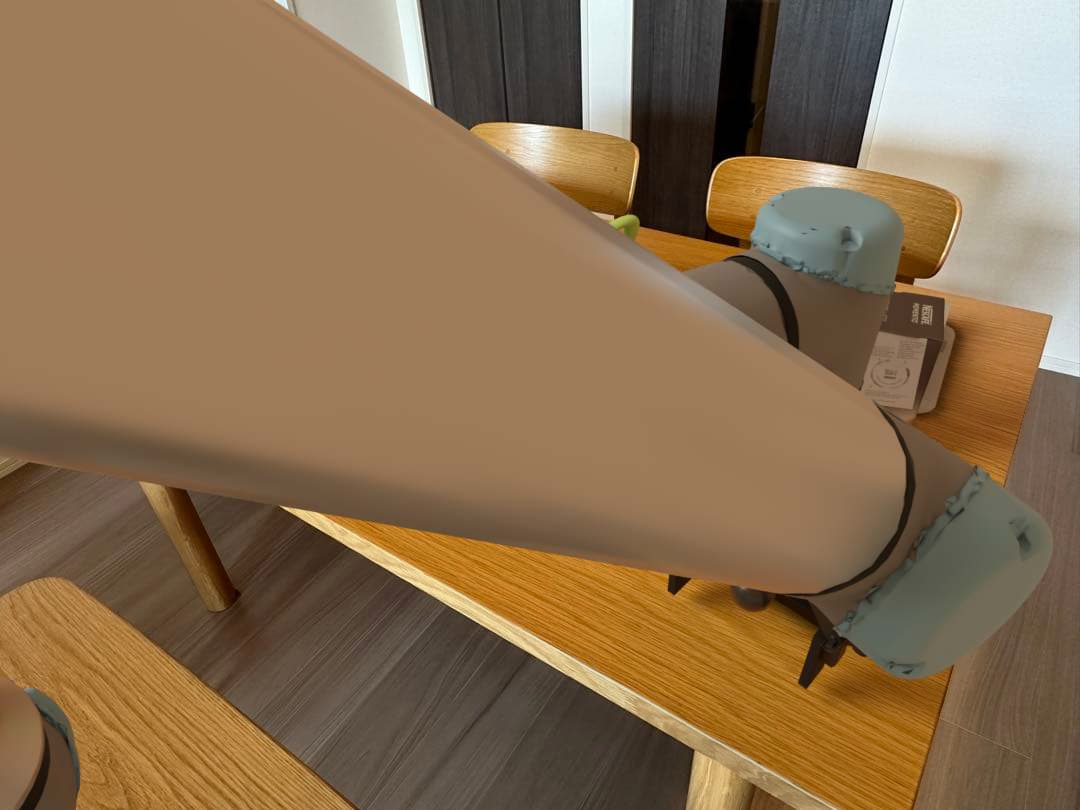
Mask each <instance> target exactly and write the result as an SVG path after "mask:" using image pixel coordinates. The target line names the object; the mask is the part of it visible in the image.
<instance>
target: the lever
mask: <svg viewBox="0 0 1080 810" xmlns="http://www.w3.org/2000/svg"><path fill="white" fill-rule="evenodd" d="M729 593H730V597H731V599H732V601H733V602H734V603H735V605H737V607H739V608H740V609H742V610H743V611H745V612H748V613H760V612H763V611H765V610H768V609H769V607H771V606H772V605H773V603H774V601H775V597H776V593H773V592H767V591H761V590H756V589H750V588H744V587H739V586H733V585H729Z"/></svg>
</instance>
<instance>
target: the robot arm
mask: <svg viewBox="0 0 1080 810" xmlns="http://www.w3.org/2000/svg"><path fill="white" fill-rule="evenodd" d="M609 223H610V222H607V221H606V220H604V219H602V218H601V217H600V216H598V215H597V214H595V213H594V212H592V211H591V210H589V209H588V208H586V207H585V206H583V205H582V204H580V203H579V202H577V201H576V200H574V199H573V198H571V197H570V196H568V195H567V194H565V193H564V192H563V191H561V190H559V189H558V188H556V187H555V186H553V185H552V184H551V183H548V182H547V181H546V180H544V179H543V178H541V177H539V176H538V175H537V174H536V173H533V172H532V171H531V170H530V169H528V168H526V167H525V166H523V165H522V164H521V163H519V162H518V161H516V160H514V159H513V158H511V157H510V156H508V155H507V154H505V153H503V152H502V151H501V150H499V149H498V148H496V147H495V146H493V145H492V144H490V143H489V142H487V141H486V140H485V139H483V138H481V137H480V136H478V135H477V134H475V133H473V132H472V131H471V130H469V129H468V128H467V127H465V126H463V125H462V124H460V123H459V122H457V121H456V120H454V119H453V118H451V117H450V116H449V115H447V114H445V113H444V112H443V111H441V110H439V109H438V108H436V107H435V106H434V105H432V104H430V103H429V102H428V101H426V100H424V99H423V98H421V97H420V96H418V94H415V93H414V92H412V91H410V90H409V89H407V88H406V87H405V86H403V85H402V84H401V83H399V82H397V81H396V80H394V79H393V78H391V77H390V76H388V75H387V74H386V73H384V72H382V71H381V70H379V69H377V68H376V67H375V66H373V65H371V64H370V63H369V62H368V61H366V60H364V59H363V58H361V57H360V56H359V55H357V54H355V53H354V52H352V51H351V50H350V49H348V48H347V47H345V46H343V44H340V43H338V42H337V41H336V40H335V39H333V38H331V37H330V36H328V35H327V34H325V33H324V32H322V31H321V30H320V29H318V28H317V27H315V26H313V25H312V24H311V23H309V22H307V21H306V20H304V19H303V18H301V17H300V16H298V15H297V14H295V13H293V12H292V11H291V10H290V9H288V8H286V7H285V6H283V5H282V4H281V3H279V2H277V1H276V0H0V458H5V459H10V460H15V461H22V462H26V463H32V464H39V465H43V466H49V467H54V468H62V469H65V470H66V469H67V470H72V471H79V472H82V473H83V472H84V473H89V474H95V475H102V476H106V477H111V478H118V479H123V480H130V481H136V482H140V483H146V484H152V485H156V486H157V485H158V486H164V487H170V488H174V489H175V488H176V489H181V490H186V491H192V492H196V493H203V494H209V495H214V496H221V497H226V498H232V499H238V500H243V501H248V502H253V503H254V502H255V503H260V504H265V505H272V506H278V507H284V508H289V509H294V510H300V511H306V512H312V513H318V514H324V515H328V516H335V517H340V518H346V519H351V520H357V521H361V522H362V521H363V522H367V523H368V522H369V523H373V524H378V525H379V524H380V525H386V526H392V527H398V528H403V529H409V530H414V531H418V532H419V531H421V532H425V533H426V532H427V533H431V534H438V535H442V536H448V537H455V538H461V539H466V540H470V541H477V542H483V543H489V544H493V545H500V546H505V547H511V548H516V549H517V548H518V549H523V550H529V551H533V552H534V551H535V552H539V553H545V554H550V555H551V554H552V555H556V556H561V557H568V558H574V559H579V560H585V561H590V562H591V561H592V562H597V563H602V564H609V565H614V566H619V567H626V568H630V569H635V570H636V569H638V570H642V571H648V572H653V573H659V574H665V575H668V581H667V589H666V590H667V593H669V594H671V595H673V596H676V595H677V594H678V593H679V592H680V590H682V589H683V588H684V587H685V586H686V585H687V584H688V583H689V582H690V581H691V580H692V579H694V580H700V581H706V582H710V583H717V584H723V585H728V586H730V585H733V586H739V587H744V588H750V589H756V590H761V591H767V592H773V593H779V594H783V595H786V596H791V597H796V598H801V599H807V600H808V601H809V603H810V606H811V608H812V610H813V612H814V614H815V616H816V618H817V620H818V622H819V624H820V626H821V627H820V628H819V627H818V629H817V630H816V632H815V633H814V634H813V635H812V639H811V642H810V645H809V648H808V651H807V654H806V656H805V660H804V662H803V666H802V669H801V672H800V675H799V678H798V680H797V684H798V685H799V686H800V687H802V688H803V689H805V690H808V688H809V687H810V685H812V683H814V680H815V679H816V678H817V677H818V675H819V674H820V672H821V671H822V670H823V669H824V668H825V665H827V666H828V667H829V668H831V669H832V668H834V667H836V666H837V664H838V663H839V662H840V660H842V658H843V656H844V655H845V653H846V650H847V648H848V646H849V647H851V648H852V650H853V652H854V653H855V654H857V655H858V656H859V657H864V658H868V659H870V660H871V661H872V662H873V663H874V664H876V665H877V666H878V667H879V668H880V669H882V670H883V671H884V672H886V673H887V674H889V675H891V676H893V677H895V678H899V679H901V680H920V679H924V678H929V677H931V676H934V675H936V674H938V673H941V672H943V671H945V670H947V669H949V668H950V667H952V666H954V665H955V664H956V663H959V662H960V661H961V660H963V659H964V658H965V657H967V656H968V655H970V654H971V653H972V652H973V651H975V650H976V649H977V648H979V647H980V646H981V645H982V644H984V643H985V642H986V641H987V640H988V639H990V638H991V637H992V636H993V635H994V634H995V633H996V632H997V631H998V630H999V629H1000V628H1001V627H1003V626H1004V624H1005V623H1006V622H1007V621H1008V620H1009V619H1011V617H1012V616H1013V615H1014V614H1015V613H1016V612H1017V611H1018V610H1019V608H1020V607H1022V605H1023V604H1024V603H1025V602H1026V600H1027V599H1028V598H1029V597H1030V595H1031V594H1032V593H1033V592H1034V590H1035V589H1036V588H1037V586H1038V585H1039V583H1040V581H1041V580H1042V578H1043V577H1044V575H1045V573H1046V572H1047V570H1048V567H1049V564H1050V562H1051V559H1052V555H1053V551H1054V536H1053V532H1052V530H1051V527H1050V525H1049V523H1048V522H1047V521H1046V519H1045V518H1044V517H1043V516H1042V515H1041V514H1040V513H1039V512H1038V511H1037V510H1035V509H1034V508H1032V506H1030V505H1028V504H1026V502H1025V501H1022V500H1021V499H1020V498H1019V497H1017V496H1016V495H1014V494H1013V493H1012V492H1010V491H1009V490H1007V489H1006V488H1005V487H1003V486H1002V485H1001V484H1000V483H998V482H997V481H995V480H994V479H993V478H992V477H991V474H990V472H988V471H986V470H984V469H983V468H982V467H980V466H979V465H977V464H975V465H972V464H970V463H969V462H967V461H966V460H965V459H963V458H961V457H960V456H959V455H957V454H956V453H954V452H952V451H951V450H950V449H948V448H947V447H945V446H944V445H943V444H941V443H939V442H937V441H936V440H935V439H933V438H931V436H929V435H927V434H925V433H924V432H922V431H921V430H919V429H918V428H917V427H915V426H914V425H913V426H912V425H910V424H909V423H907V422H906V421H904V420H903V419H901V418H900V417H898V416H897V415H895V414H894V413H892V412H891V411H889V410H888V409H886V408H885V407H883V406H882V405H880V404H879V403H877V402H875V401H874V400H872V399H871V398H870V397H868V396H867V395H865V394H864V393H862V392H861V388H862V386H863V382H864V375H865V372H866V369H867V366H868V363H869V360H870V357H871V354H872V351H873V348H874V345H875V341H876V338H877V335H878V332H879V329H880V326H881V323H882V320H883V317H884V314H885V311H886V308H887V305H888V302H889V299H890V296H891V294H893V293H894V292H896V289H897V284H896V282H895V281H896V277H897V273H898V268H899V262H900V259H901V253H902V249H903V244H904V241H905V240H904V239H905V225H904V222H903V219H902V218H901V216H900V214H899V213H898V212H897V211H896V210H895V209H894V208H893V207H892V205H890V204H888V203H886V202H885V201H883V200H881V199H880V198H877V197H874V196H872V195H869V194H866V193H864V192H861V191H858V190H852V189H847V188H841V187H833V186H805V187H797V188H791V189H788V190H784V191H781V192H778V193H777V194H775V195H773V196H771V198H769V200H768V201H767V202H765V203H764V204H763V205H762V206H761V207H760V208H759V210H758V212H757V214H756V220H755V224H754V228H753V229H752V231H751V232H750V233H749V237H750V238H749V241H751V242H750V243H751V244H750V247H749V249H747V250H745V251H742V252H739V253H735V254H732V255H729V256H727V257H725V258H724V259H722V260H719V261H715V262H711V263H708V264H704V265H700V266H698V267H694V268H691V269H687V270H683V271H680V270H679V269H677V267H675V266H673V265H672V264H670V263H669V262H668V261H666V260H664V259H663V258H661V257H660V256H658V255H657V254H656V253H654V252H652V251H650V249H648V248H646V247H645V246H643V245H641V244H640V243H639V242H638V241H636V240H635V241H634V240H633V239H631V238H630V237H628V236H627V235H625V234H624V233H623V231H621V230H618V229H616V228H615V227H613V226H612V225H610V224H609ZM80 761H81V760H80V757H79V752H78V748H77V745H76V740H75V733H74V731H73V727H72V724H71V723H70V720H69V718H68V717H67V715H66V713H65V712H64V710H63V709H62V708H61V707H60V706H59V704H58V703H57V701H55V700H54V699H52V698H51V697H50V696H49V695H48V694H46V693H45V692H43V691H42V690H40V689H38V688H35V687H33V686H31V687H26V688H24V689H23V688H22V687H21V686H19V685H18V684H17V683H16V682H15V681H14V680H13V679H10V678H7V677H4V676H1V675H0V810H77V800H78V798H79V796H78V795H79V793H80V790H81V777H82V775H81V774H82V773H81V762H80Z"/></svg>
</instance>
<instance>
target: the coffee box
mask: <svg viewBox="0 0 1080 810" xmlns="http://www.w3.org/2000/svg"><path fill="white" fill-rule="evenodd" d="M945 301H946V300H945V298H944V297H940V296H933V295H928V294H922V293H915V292H908V291H900V292H899V291H894V293H893V294H891V296H890V299H889V302H888V305H887V308H886V311H885V314H884V317H883V320H882V323H881V326H880V329H879V332H878V335H877V338H876V341H875V345H874V348H873V351H872V354H871V357H870V360H869V363H868V366H867V369H866V372H865V375H864V382H863V386H862V388H861V392H862V393H864V394H865V395H867V396H868V397H870V398H871V399H872V400H874V401H875V402H877V403H879V404H880V405H882V406H883V407H885V408H886V409H888V410H889V411H891V412H892V413H894V414H895V415H897V416H898V417H900V418H901V419H903V420H904V421H906V422H907V423H909V424H910V425H912V426H913V427H914V424H915V421H916V418H917V415H918V414H917V412H918V410H919V407H920V404H921V401H922V399H923V396H924V394H925V391H926V388H927V385H928V382H929V380H930V377H931V374H932V371H933V369H934V366H935V363H936V360H937V357H938V355H939V352H940V349H941V346H942V344H943V342H944V310H945Z"/></svg>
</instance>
